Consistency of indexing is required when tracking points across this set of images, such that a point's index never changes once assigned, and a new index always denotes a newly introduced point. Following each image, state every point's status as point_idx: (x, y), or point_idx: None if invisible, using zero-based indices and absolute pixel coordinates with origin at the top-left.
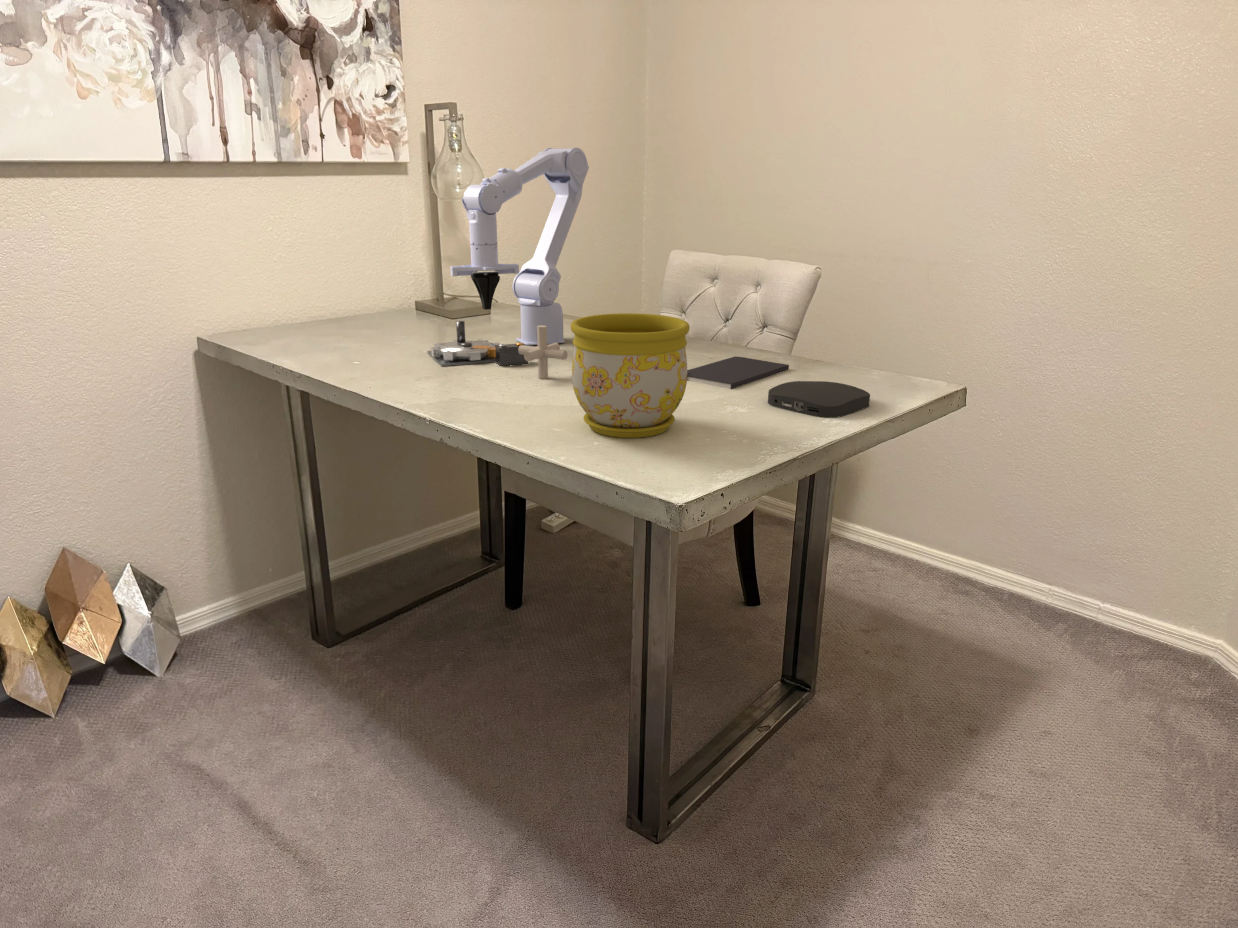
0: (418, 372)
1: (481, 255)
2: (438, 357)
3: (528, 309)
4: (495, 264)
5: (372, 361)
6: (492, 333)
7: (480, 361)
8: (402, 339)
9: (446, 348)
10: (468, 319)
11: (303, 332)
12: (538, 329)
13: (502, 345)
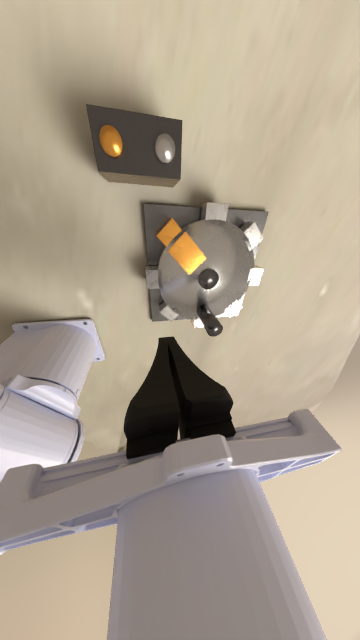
0: (317, 179)
1: (285, 618)
2: None
3: (59, 375)
4: (143, 514)
5: (308, 291)
6: (130, 392)
7: (200, 207)
8: (226, 379)
9: (243, 269)
10: None
11: (274, 405)
12: None
13: (169, 136)
